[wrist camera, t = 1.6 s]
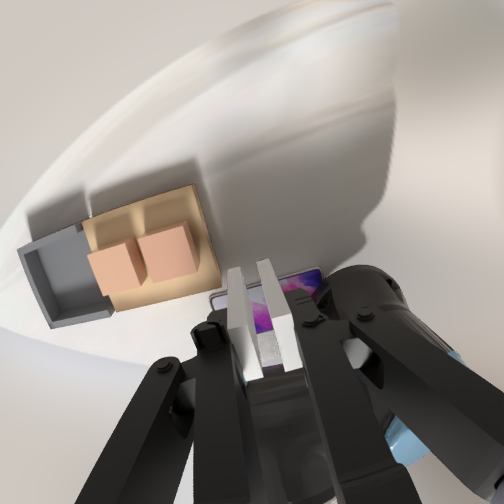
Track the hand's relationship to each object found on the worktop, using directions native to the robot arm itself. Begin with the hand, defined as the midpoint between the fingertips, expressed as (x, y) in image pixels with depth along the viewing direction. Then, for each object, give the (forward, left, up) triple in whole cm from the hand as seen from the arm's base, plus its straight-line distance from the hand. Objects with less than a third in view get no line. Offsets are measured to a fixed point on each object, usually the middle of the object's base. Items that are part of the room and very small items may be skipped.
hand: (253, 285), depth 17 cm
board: (0, +11, -18) cm, 21 cm away
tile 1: (0, +15, -15) cm, 21 cm away
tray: (0, +24, -18) cm, 30 cm away
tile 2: (0, +8, -15) cm, 17 cm away
